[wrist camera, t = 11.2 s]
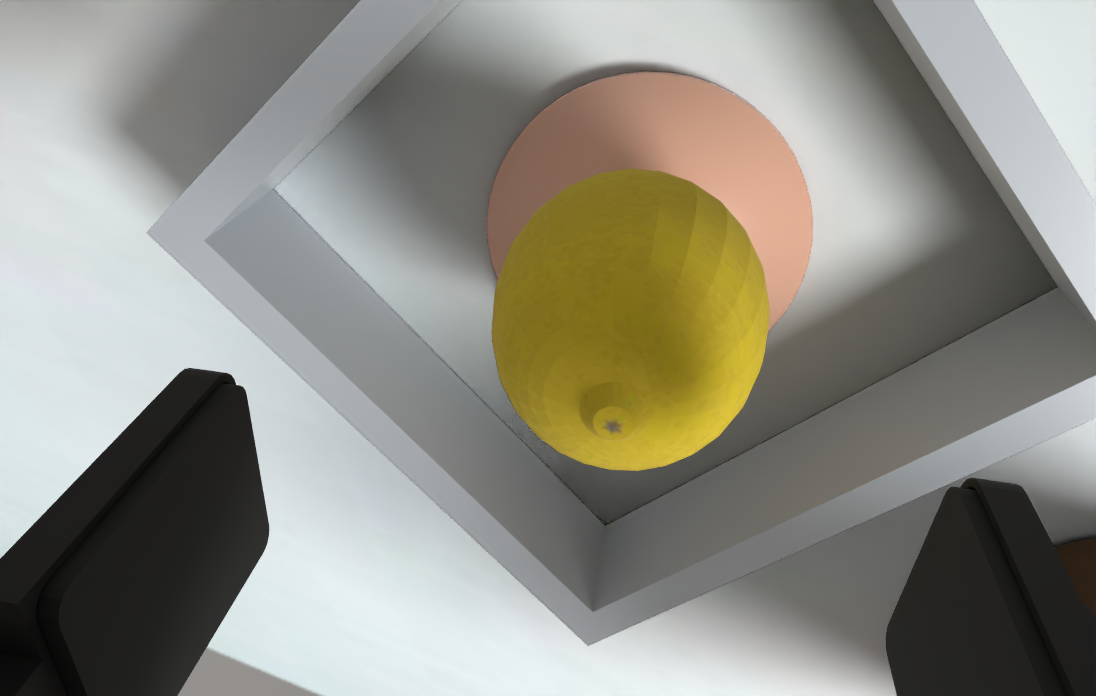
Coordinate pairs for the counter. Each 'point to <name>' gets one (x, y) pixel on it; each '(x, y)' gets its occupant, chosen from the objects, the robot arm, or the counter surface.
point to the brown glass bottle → (1081, 568)
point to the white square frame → (784, 250)
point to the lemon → (630, 320)
